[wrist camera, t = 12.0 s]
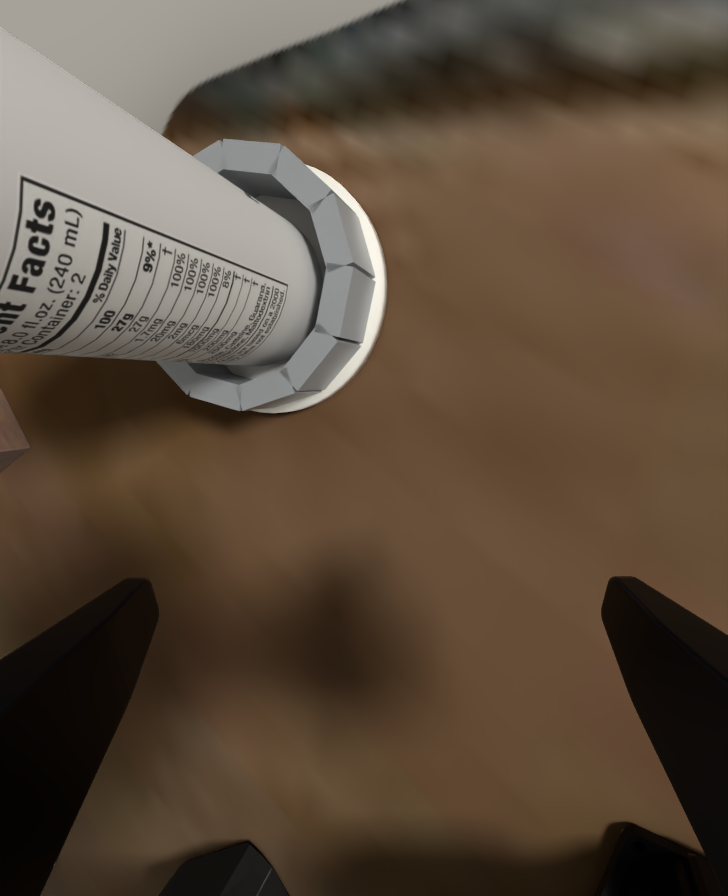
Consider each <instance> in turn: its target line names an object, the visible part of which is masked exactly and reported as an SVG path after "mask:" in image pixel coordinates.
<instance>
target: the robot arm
mask: <svg viewBox="0 0 728 896" xmlns="http://www.w3.org/2000/svg"><path fill="white" fill-rule="evenodd" d="M601 616H602V621H603V624H604V627H605V629H606V632H607V635H608V638H609V640H610V643H611V646H612V649H613V651H614V654H615V657H616V660H617V663H618V665H619V668H620V671H621V674H622V676H623V679H624V682H625V685H626V687H627V690H628V693H629V695H630V698H631V700H632V702H633V705H634V707H635V709H636V711H637V713H638V715H639V718H640V720H641V722H642V724H643V726H644V728H645V730H646V732H647V734H648V736H649V738H650V740H651V743H652V745H653V747H654V749H655V751H656V753H657V755H658V757H659V759H660V761H661V763H662V765H663V767H664V770H665V772H666V774H667V776H668V778H669V780H670V782H671V784H672V786H673V788H674V790H675V792H676V795H677V797H678V799H679V801H680V803H681V805H682V807H683V809H684V811H685V813H686V815H687V817H688V820H689V822H690V824H691V826H692V828H693V830H694V832H695V834H696V836H697V838H698V840H699V842H700V845H701V847H702V849H703V851H704V853H705V855H706V857H707V859H706V858H704V857H702V856H700V855H698V854H696V853H694V852H691V851H689V850H687V849H685V848H683V847H681V846H678V845H676V844H674V843H672V842H670V841H668V840H666V839H663V838H661V837H659V836H657V835H655V834H653V833H650V832H648V831H646V830H644V829H642V828H639V827H636V826H630V827H627V828H625V829H624V831H623V832H622V835H621V837H620V839H619V842H618V844H617V846H616V849H615V851H614V853H613V855H612V858H611V860H610V862H609V865H608V867H607V869H606V872H605V874H604V876H603V879H602V881H601V883H600V886H599V888H598V890H597V892H596V895H595V896H728V635H727V634H725V633H723V632H722V631H720V630H719V629H717V628H716V627H714V626H712V625H711V624H709V623H708V622H706V621H704V620H703V619H701V618H700V617H698V616H696V615H695V614H693V613H692V612H690V611H688V610H687V609H685V608H684V607H682V606H680V605H679V604H677V603H676V602H674V601H673V600H671V599H669V598H668V597H666V596H665V595H663V594H661V593H660V592H658V591H657V590H655V589H653V588H652V587H650V586H649V585H647V584H645V583H644V582H642V581H641V580H639V579H637V578H635V577H632V576H615V577H612V578H610V580H609V581H608V584H607V588H606V592H605V596H604V600H603V604H602V608H601ZM158 617H159V609H158V605H157V601H156V598H155V594H154V591H153V588H152V584H151V582H150V581H149V579H147V578H127V579H125V580H123V581H121V582H120V583H118V584H117V585H115V586H114V587H112V588H111V589H109V590H107V591H106V592H104V593H103V594H101V595H100V596H98V597H97V598H95V599H93V600H92V601H90V602H89V603H87V604H86V605H84V606H83V607H81V608H80V609H78V610H76V611H75V612H73V613H72V614H70V615H69V616H67V617H66V618H64V619H63V620H61V621H59V622H58V623H56V624H55V625H53V626H52V627H50V628H49V629H47V630H46V631H44V632H42V633H41V634H39V635H38V636H36V637H35V638H33V639H32V640H30V641H29V642H27V643H25V644H24V645H22V646H21V647H19V648H18V649H16V650H15V651H13V652H11V653H10V654H8V655H7V656H5V657H4V658H2V659H1V660H0V896H40V895H41V893H42V890H43V888H44V886H45V884H46V882H47V880H48V877H49V875H50V873H51V871H52V869H53V867H54V864H55V862H56V860H57V858H58V856H59V854H60V851H61V849H62V847H63V845H64V843H65V840H66V838H67V836H68V834H69V832H70V830H71V827H72V825H73V823H74V821H75V819H76V817H77V814H78V812H79V810H80V808H81V806H82V803H83V801H84V799H85V797H86V795H87V793H88V790H89V788H90V786H91V784H92V782H93V780H94V777H95V775H96V773H97V771H98V769H99V767H100V764H101V762H102V760H103V758H104V756H105V753H106V751H107V749H108V747H109V745H110V743H111V740H112V738H113V736H114V734H115V732H116V730H117V727H118V725H119V723H120V721H121V719H122V717H123V714H124V712H125V710H126V708H127V705H128V703H129V701H130V699H131V696H132V694H133V691H134V688H135V686H136V683H137V680H138V677H139V674H140V671H141V668H142V665H143V663H144V660H145V657H146V654H147V651H148V648H149V645H150V642H151V639H152V636H153V633H154V631H155V628H156V625H157V622H158ZM635 841H638V842H642V843H639V844H637V843H634V842H635Z"/></svg>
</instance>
